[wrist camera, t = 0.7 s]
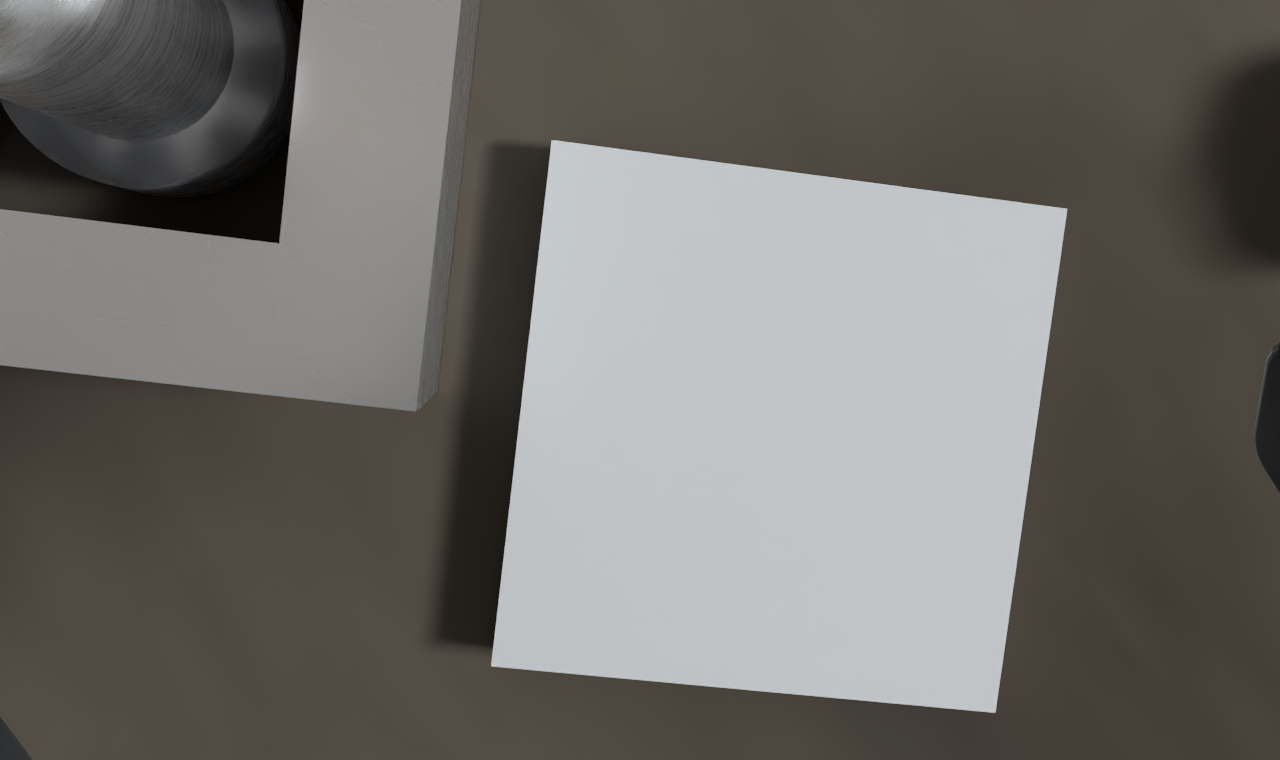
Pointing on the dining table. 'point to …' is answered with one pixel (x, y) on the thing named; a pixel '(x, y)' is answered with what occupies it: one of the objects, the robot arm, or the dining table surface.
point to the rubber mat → (774, 430)
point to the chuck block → (283, 238)
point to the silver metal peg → (151, 88)
